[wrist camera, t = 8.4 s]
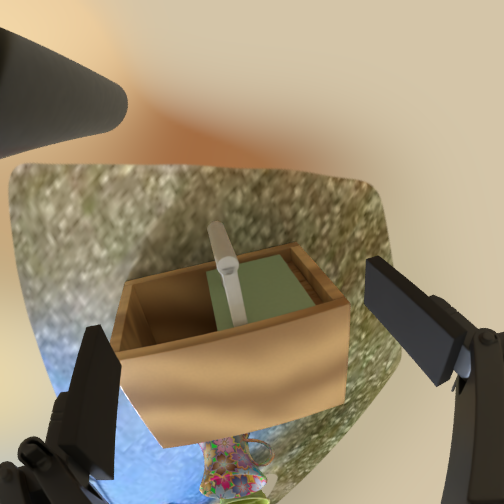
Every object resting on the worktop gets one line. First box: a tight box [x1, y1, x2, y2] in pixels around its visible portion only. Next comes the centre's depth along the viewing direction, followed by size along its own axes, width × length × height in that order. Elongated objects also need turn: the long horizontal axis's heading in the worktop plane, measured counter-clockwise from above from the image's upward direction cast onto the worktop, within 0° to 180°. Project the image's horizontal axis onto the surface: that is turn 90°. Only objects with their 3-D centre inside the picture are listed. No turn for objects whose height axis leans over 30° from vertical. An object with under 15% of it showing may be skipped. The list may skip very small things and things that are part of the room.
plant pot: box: [220, 489, 270, 504], centre depth 46 cm, size 9×9×9 cm
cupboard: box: [110, 242, 351, 448], centre depth 29 cm, size 12×18×12 cm
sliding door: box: [206, 221, 316, 331], centre depth 25 cm, size 6×7×10 cm
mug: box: [198, 432, 274, 499], centre depth 38 cm, size 12×9×11 cm
